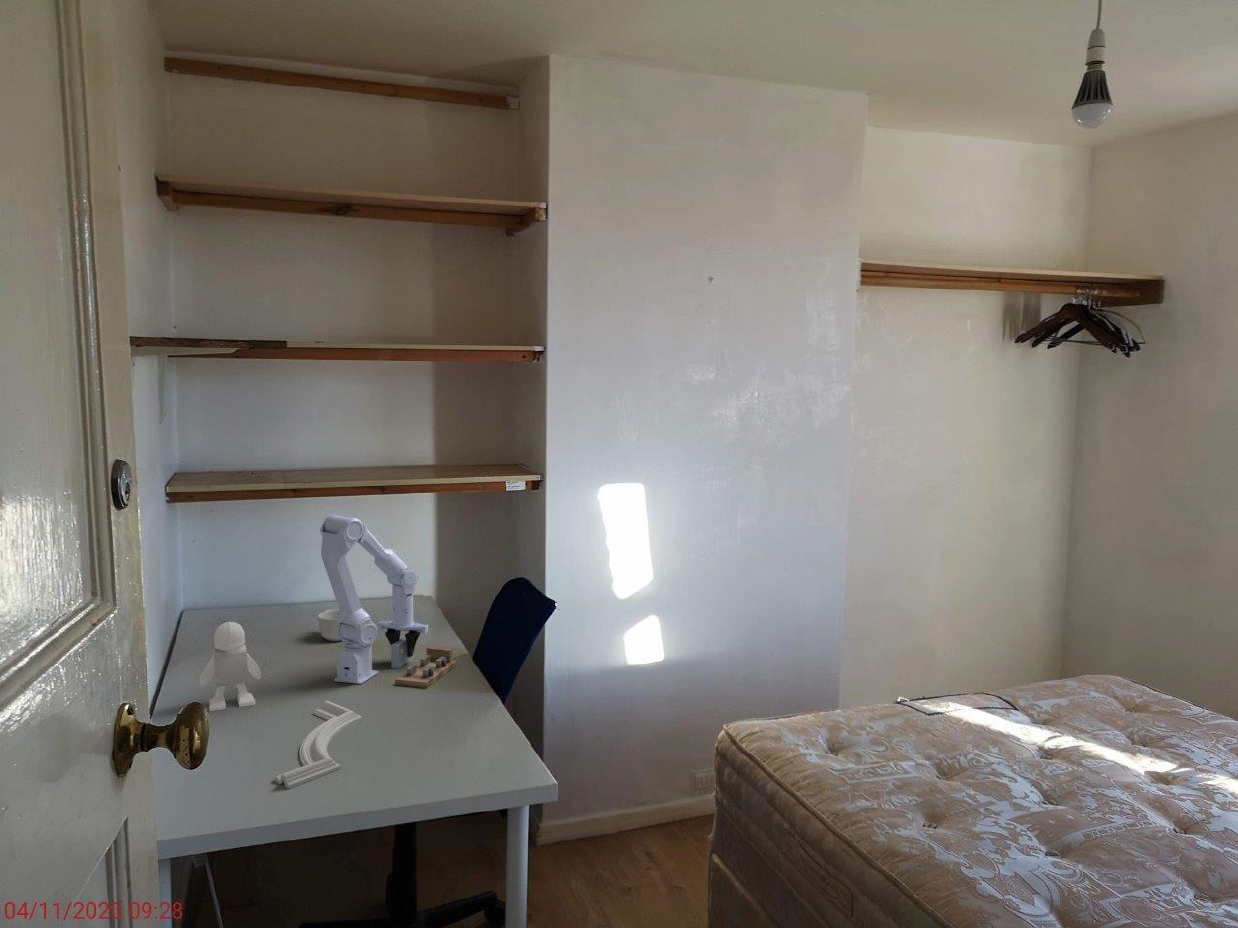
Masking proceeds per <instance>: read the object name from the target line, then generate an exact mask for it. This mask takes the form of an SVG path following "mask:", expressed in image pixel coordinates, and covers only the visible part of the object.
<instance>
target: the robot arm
mask: <svg viewBox="0 0 1238 928" xmlns="http://www.w3.org/2000/svg"><path fill="white" fill-rule="evenodd" d="M319 532H320V534H321V549H320V550H321V551H320V554H321V555H320V556H321V559H322V561H323V566H324V569H325V571H326V575H327V577H328V580H329V583H330V586H331V588H332V591H333V595H334V598H335V601H336V603H337V606H338V609H339V610H340V613H341V614H340V615H339V616H338V617H337V621H338V635H339V636H340V638H342V641H341V642H342V644H343V646H342V647H343V648H342V650H341V651H340V652H339V653H338V654H337V657H336V677H335V678H334V682H338V683H351V684H358V685H360V684H361V685H362V684H364V683H365V682H367V680H370V679H371V678H373V677H374V676H375V675H377V674H379V670H373V645H374V642H375V640H376V639H377V637H378V630H386V632H384V635H385V638H386V639H387V641H388V642H389V644H390V646H391V645H392V644H394V643H396V642H397V641H399V640H401V632H402V631H403V632H407V633H404V637H405V638H406V642H407V657H409V658H410V657H411V656H413V652H414V648H415V647H416V644H417V641H418V639H419V637H420V635H421V633H422V634H427V633H428V632H429V625H428V624H422V623H419V622H415V621H414V593H415V588H416V587H415V586H416V584H417V582H418V581H419V580H418V579H419V575H417V572H416V571H415V569H414V568H412V567H409V566H407V561H405V560H403V559H401V558H400V557H399V555H397V553H398V552H397V550H395V549H391V548H384V547H383V546H382V545H381V543H380V542H379V541H378V540H377V539H376V538H375V536H374V535H373V534H372V533H371V532H370V530H368V527H367V525H366V524H365V523H363V522H362V521H361V519H359V518H357V517H347V516H342V515H338V514H330V515H328V516H327V517H326V518H325V519H324V521H323V522H322V524H321V527H320V528H319ZM357 543H358V545H360V546H361V547H362V548H364V550H365V551H367V553H369V555H371V556H372V557H374V561H373V562H374V565H375V566H376V567H377V568H378V569H380V571H381V572H383V574H384V575H385V576H386V579H387V582H388V583H389V584H391V585H392V587H391V588H392V592H391V596H392V597H391V600H392V605H391V606H392V607H391V608H392V610H391V611H392V620H380V621H378V622H377V625H376V624H375V623H374V622H373V621H372V619H371V616H370V615H369V614H368V613H367V612H366V611H365V609H363V607H362V605H361V600H360V599H359V595H358V592H357V589H356V585H355V583H354V580H353V577H352V575H351V571H350V568H349V564H348V562H347V561H348V560H347V558H346V555H347V554H348V553H349V552H350V551H351V550H352V549H353V547H354V546H355V545H356V544H357ZM415 649H416V648H415Z"/></svg>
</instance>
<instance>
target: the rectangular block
mask: <svg viewBox="0 0 1238 928" xmlns="http://www.w3.org/2000/svg"><path fill="white" fill-rule="evenodd" d="M415 649H416V648H414V652H413V656H411V657H410V658H409V657H407V642H406V638H405V636H404V637H402V638H400V640H399V641H397V642H396V643H394V644H392V645H390V653H391V655H390V656H391V663H390V664H391V666H390V667H391V668H392V669H399V668H402V667H403V666H404V665H405V664H407V663H408V662H410V661H412V660H413V659H414V658H416V652H415Z"/></svg>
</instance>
